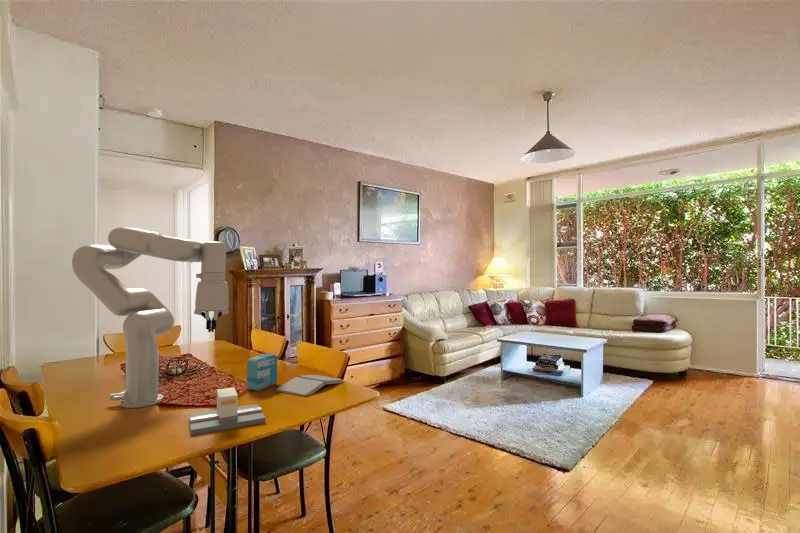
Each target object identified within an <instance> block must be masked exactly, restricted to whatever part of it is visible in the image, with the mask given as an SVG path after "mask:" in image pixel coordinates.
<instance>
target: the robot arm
mask: <svg viewBox="0 0 800 533" xmlns="http://www.w3.org/2000/svg"><path fill="white" fill-rule="evenodd" d="M107 240H108V241H107V242H108V243H109V244H110V245H107V244H106V245H105V244H87V245H83V246H80V247H78V248H77V249H76V250H75V251H74V252H73V255H72V259H71V262H72V263H71V266H72V270H73V273H74V274H75V276H76V278H78V280H79V281H80V282H81V283H82V284H83V285H84V286H85V287H87V289H89V290H90V291H91V292H92V293H93V295H95V296H96V298H97V299H98V300H99V301H100V302H101V303H102V304H103V305H104V307H105V308H106V309H108V311H109V312H110V313H111V314H112V315H115V316H117V317H125V319H124V321H123V322H122V332H123V336H124V342H125V390H124V391H121V392H119V393H118V392H117V393H115V392H114V393H111V394H109V400H110V401H114V402H115V401H119V400H121V401H120V403H119V406H120V407H122V408H124V409H137V408H145V407H150V406H152V405H156V404H159V403H160V402H163V400H164V395H163V394H161V393H159V371H160V370H159V367H160V366H159V364H160V363H159V358H160V357H159V355H160V354H159V345H158V343H157V340H156V338H155V336H161V335H164V334H167V333H168V332H170V331H171V330H172V329H173V327H174V325H175V318H174V316H173V313H172V312H171V311H170V310H169V308H167V307H166V306H165V305H164V303H163V302H162V301H161V300H159V298H158V297H157V296H156V295H155V294H154V293H153V292H151V291H150V290H148V289H145V288H142V287H141V288H139V287H136V288H135V287H134V288H130V287H128V286H126V285H125V284H124V283H123V282H121V280H120V279H119V278H118V277H117V276H115V275H114V274H113V273H111V272H109V271H108V270H116V269H117V270H118V269H121V268H124V267H126V266H128V265H129V264H131V263H133V262H134V261H135V260H137V259H138V258H139V257H141V256H143V255H144V256H149V257H153V258H158V259H164V260H169V261H174V262H181V263H187V262H188V263H200V264H201V266H200V268H201V269H200V273H196V275H195V276H196V277H195V278H197V279H200V281H199V280H198V282H197V286H196V292H195V301H194V303H195V304H194V312H193V314H194V315H198V316H201V317H202V318H204V319H205V321H206V322H205V323H206V325H205V329H206V330H208V333H214V330H216V329H217V320H218V319H219V318H220V317H221V316H224V315H228V314H229V313H230V311H229V283H228V281H226V264H227V262H226V261H227V245H226V243H224V242H223V241H213V240H211V241H209V240H208V241H202V240H194V239H189V238H188V239H187V238H179V237H171V236H167V235H162V234H161V233H159V232H157V231H151V230H145V229H142V228H135V227H129V226H128V227H127V226H119V227H115V228H113V229H112V230H111V231H110V232H109V233H108V235H107ZM210 312H213V316H212V318H211V316H210Z"/></svg>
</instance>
